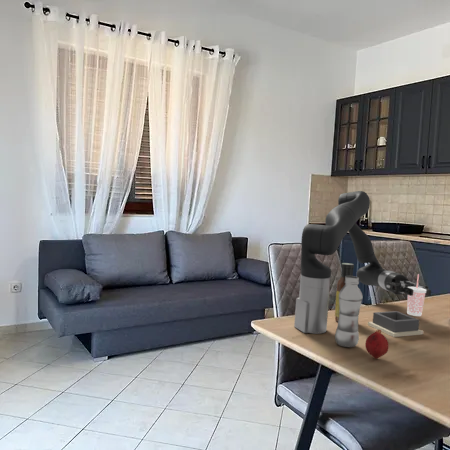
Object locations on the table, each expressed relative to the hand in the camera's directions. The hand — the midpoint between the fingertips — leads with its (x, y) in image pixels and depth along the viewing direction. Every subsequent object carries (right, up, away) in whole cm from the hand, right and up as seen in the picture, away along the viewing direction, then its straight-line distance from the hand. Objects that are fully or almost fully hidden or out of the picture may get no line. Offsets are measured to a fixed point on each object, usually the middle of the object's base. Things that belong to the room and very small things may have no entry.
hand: (421, 292), depth 147 cm
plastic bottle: (-32, -12, -22) cm, 40 cm away
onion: (-26, -13, -31) cm, 42 cm away
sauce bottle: (-26, -10, +1) cm, 28 cm away
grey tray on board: (-11, -11, -5) cm, 16 cm away
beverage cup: (-1, -8, +3) cm, 9 cm away
